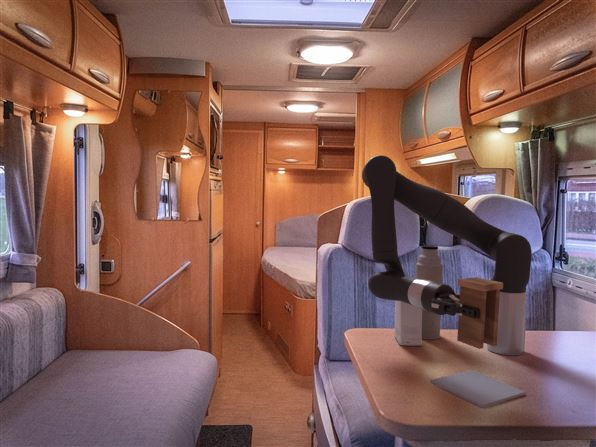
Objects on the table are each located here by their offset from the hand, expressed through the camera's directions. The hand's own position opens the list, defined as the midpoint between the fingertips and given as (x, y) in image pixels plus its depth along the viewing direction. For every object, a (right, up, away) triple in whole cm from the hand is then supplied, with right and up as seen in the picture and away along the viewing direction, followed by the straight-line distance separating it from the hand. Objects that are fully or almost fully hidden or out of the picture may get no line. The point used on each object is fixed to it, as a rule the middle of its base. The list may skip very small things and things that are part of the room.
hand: (488, 312), depth 98 cm
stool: (-1, -7, +3) cm, 8 cm away
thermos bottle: (-2, -16, +42) cm, 45 cm away
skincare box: (-9, -16, +35) cm, 40 cm away
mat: (-1, -18, +3) cm, 18 cm away
